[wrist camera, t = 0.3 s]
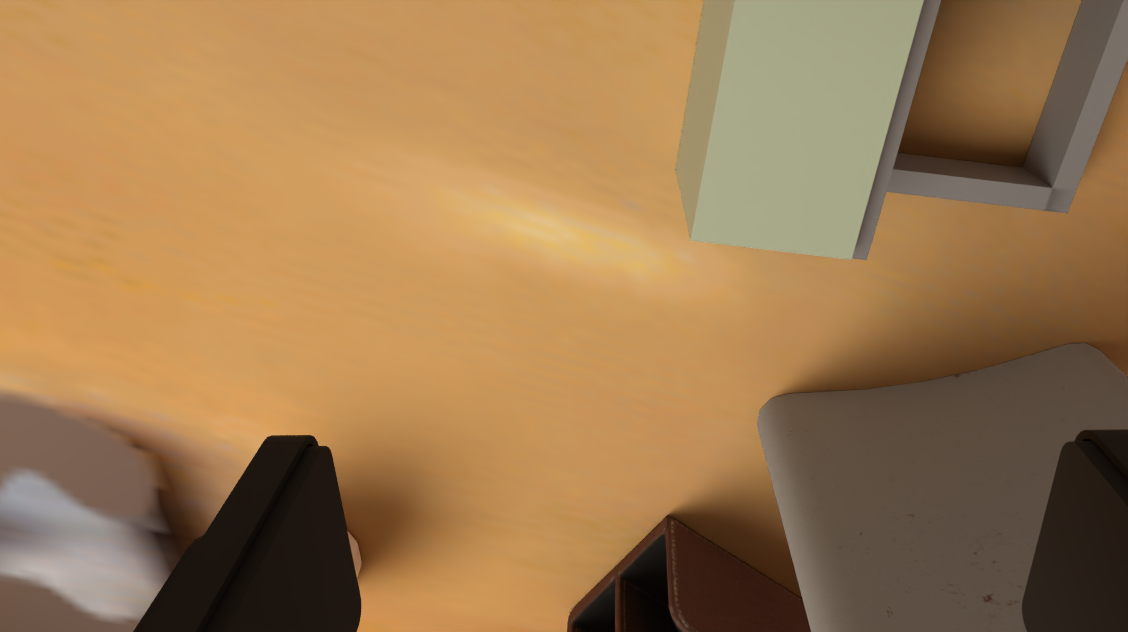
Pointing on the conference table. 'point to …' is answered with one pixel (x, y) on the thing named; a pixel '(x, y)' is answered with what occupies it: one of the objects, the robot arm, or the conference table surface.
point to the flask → (930, 488)
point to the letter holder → (686, 591)
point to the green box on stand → (858, 122)
